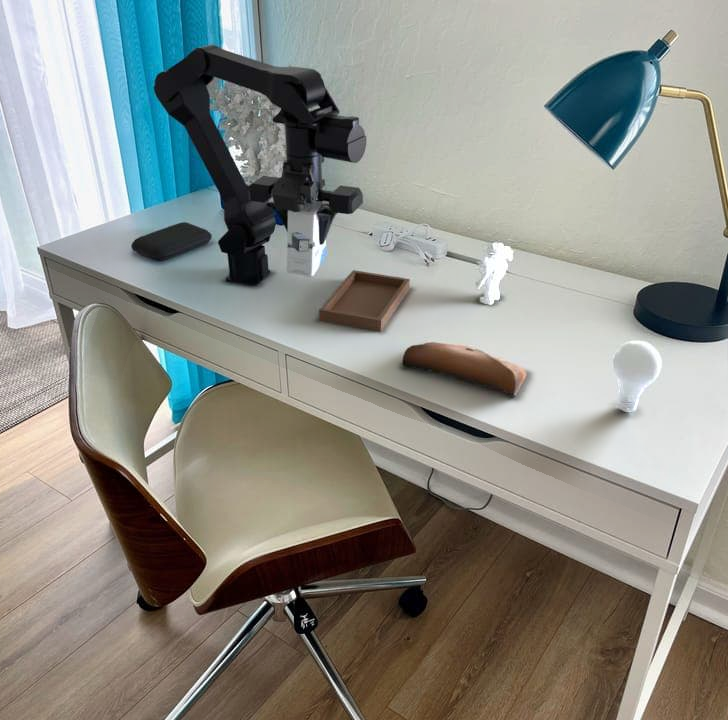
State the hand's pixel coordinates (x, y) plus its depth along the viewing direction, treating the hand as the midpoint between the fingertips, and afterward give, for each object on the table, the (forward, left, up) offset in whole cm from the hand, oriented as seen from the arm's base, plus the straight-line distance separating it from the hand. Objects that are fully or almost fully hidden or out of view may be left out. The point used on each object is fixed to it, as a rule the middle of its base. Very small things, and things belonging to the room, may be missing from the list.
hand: (307, 241), depth 128 cm
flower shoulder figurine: (+31, +9, -10) cm, 34 cm away
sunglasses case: (+32, -16, -10) cm, 37 cm away
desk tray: (+11, 0, -10) cm, 15 cm away
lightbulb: (+56, -18, -10) cm, 60 cm away
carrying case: (-35, +9, -10) cm, 37 cm away
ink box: (0, 0, -5) cm, 5 cm away
